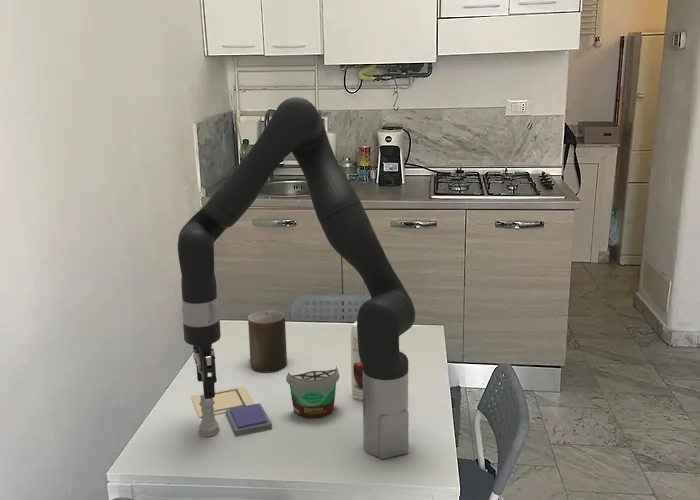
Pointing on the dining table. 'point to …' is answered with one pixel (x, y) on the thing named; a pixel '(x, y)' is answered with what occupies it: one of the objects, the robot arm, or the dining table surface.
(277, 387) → the dining table surface
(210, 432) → the rook chess piece
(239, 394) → the marked card
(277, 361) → the pillar candle
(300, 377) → the food container
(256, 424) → the ink pad
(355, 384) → the juice carton
